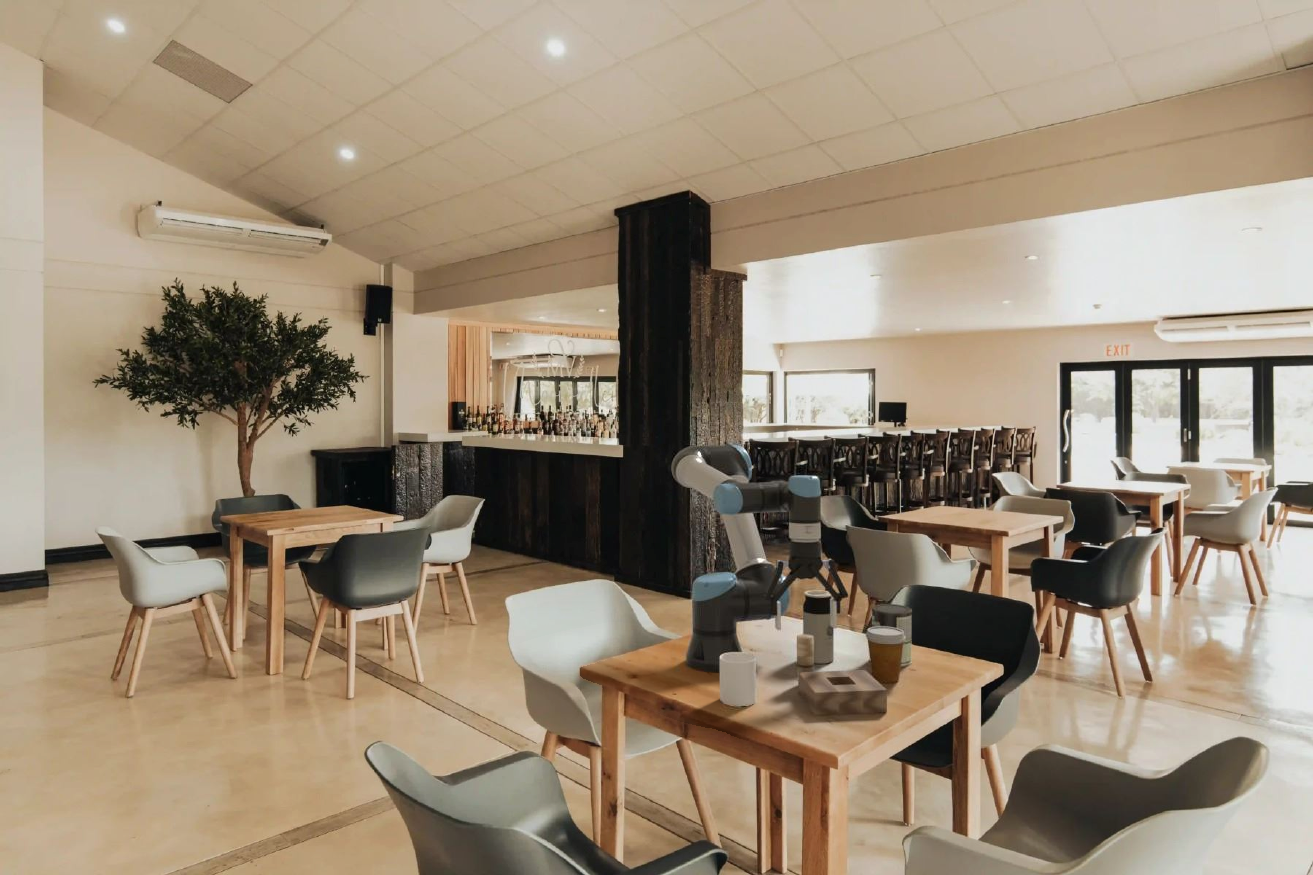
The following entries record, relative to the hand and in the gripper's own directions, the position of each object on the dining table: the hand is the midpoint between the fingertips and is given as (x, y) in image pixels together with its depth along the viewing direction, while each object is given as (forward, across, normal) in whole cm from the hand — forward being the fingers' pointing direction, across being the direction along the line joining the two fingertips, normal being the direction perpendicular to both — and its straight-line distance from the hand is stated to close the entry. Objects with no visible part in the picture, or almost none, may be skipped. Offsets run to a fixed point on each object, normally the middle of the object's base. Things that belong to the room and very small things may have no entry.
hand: (805, 628), depth 191 cm
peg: (+14, 0, 0) cm, 14 cm away
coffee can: (+14, +28, +18) cm, 36 cm away
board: (+14, +5, -12) cm, 19 cm away
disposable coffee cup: (+14, +21, +4) cm, 26 cm away
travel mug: (+14, +9, +20) cm, 26 cm away
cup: (+14, -17, -6) cm, 23 cm away
